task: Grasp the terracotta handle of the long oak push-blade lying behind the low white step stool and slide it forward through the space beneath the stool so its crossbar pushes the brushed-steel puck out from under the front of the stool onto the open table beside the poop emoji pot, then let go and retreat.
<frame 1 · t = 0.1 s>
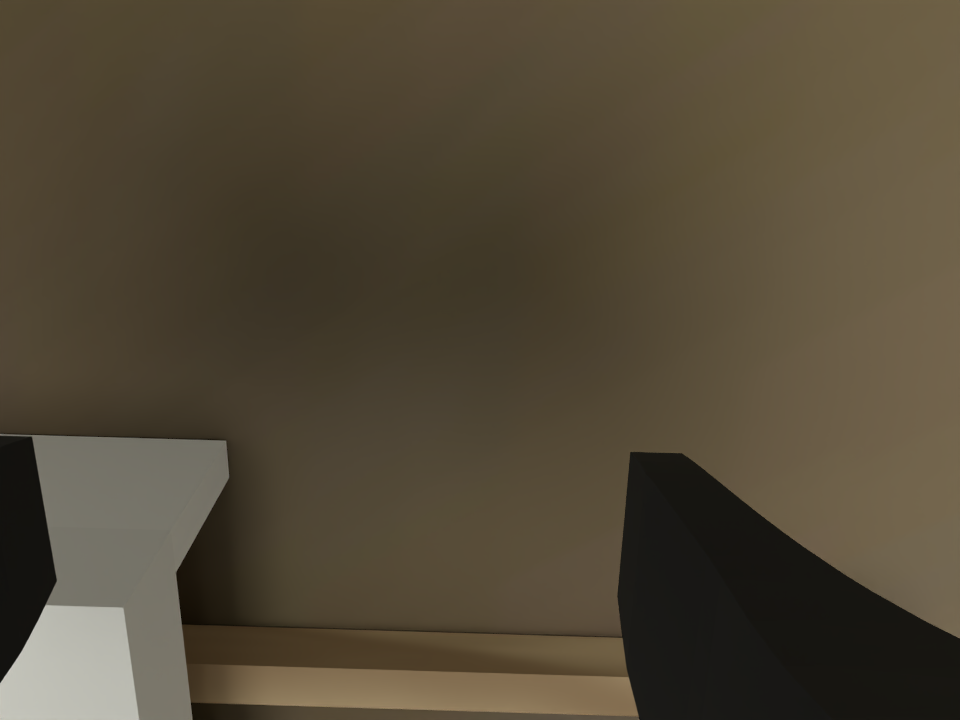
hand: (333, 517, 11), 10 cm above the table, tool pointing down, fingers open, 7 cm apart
push blade: (795, 661, 24), on the table
white step stool: (92, 641, 24), on the table
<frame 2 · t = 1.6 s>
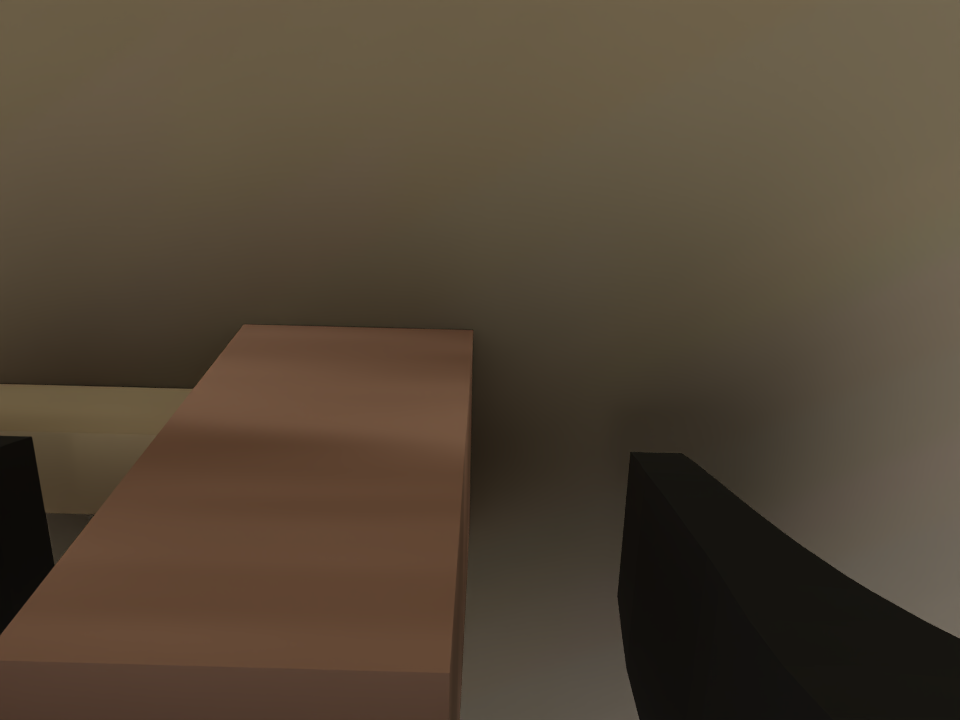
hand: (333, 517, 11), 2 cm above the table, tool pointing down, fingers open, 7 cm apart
push blade: (361, 431, 13), on the table
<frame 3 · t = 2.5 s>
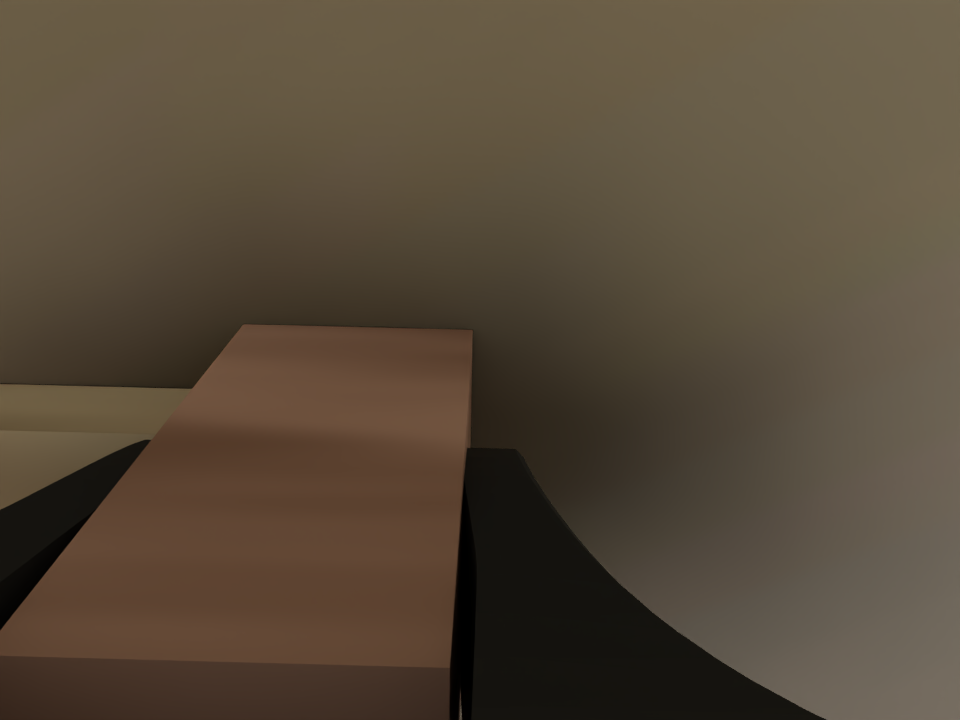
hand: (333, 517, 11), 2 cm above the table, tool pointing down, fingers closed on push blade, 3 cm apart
push blade: (360, 430, 13), on the table, touching gripper
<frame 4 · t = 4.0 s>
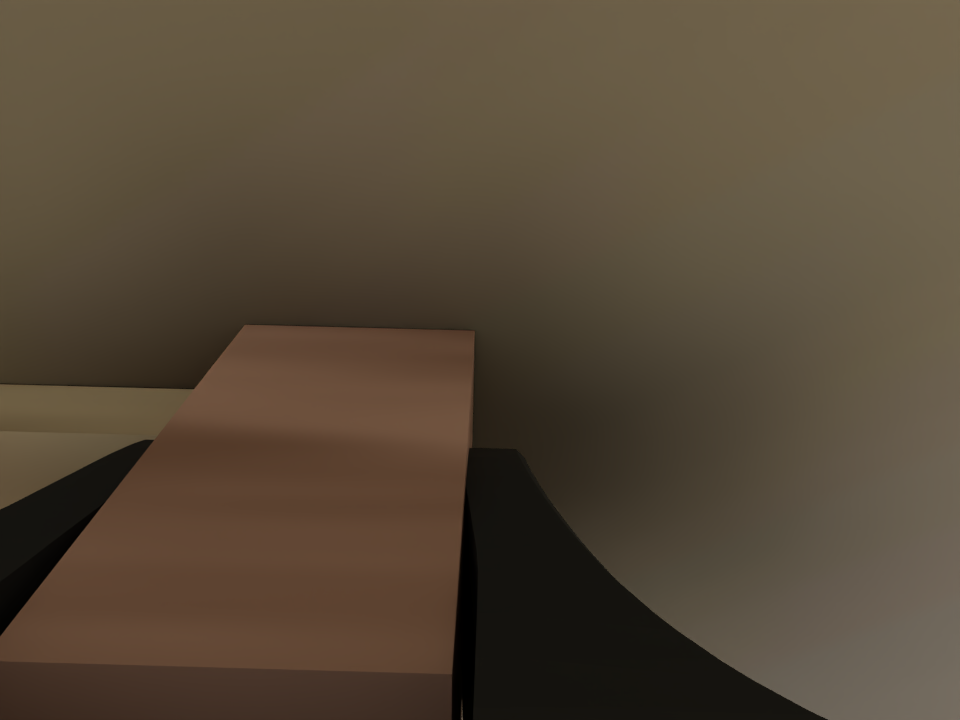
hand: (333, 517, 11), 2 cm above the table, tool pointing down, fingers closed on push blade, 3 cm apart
push blade: (362, 431, 13), on the table, touching gripper, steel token
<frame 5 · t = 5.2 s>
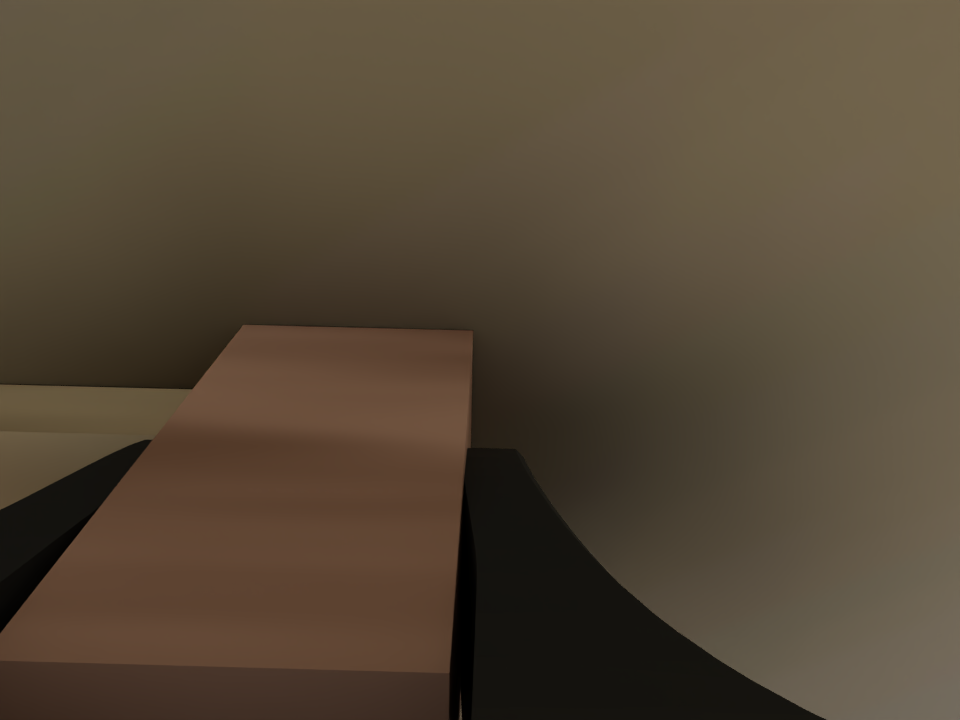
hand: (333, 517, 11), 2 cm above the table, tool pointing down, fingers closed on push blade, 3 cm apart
push blade: (361, 431, 13), on the table, touching gripper
when the fingers open (2 cm above the table, at t = 6.2 s): push blade stays where it is, on the table.
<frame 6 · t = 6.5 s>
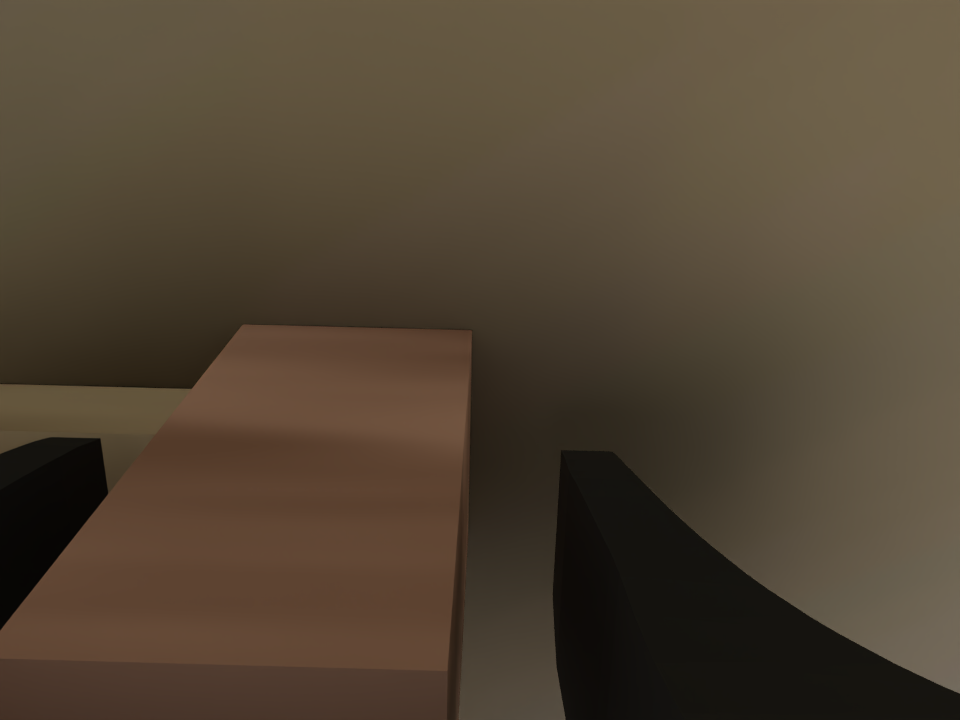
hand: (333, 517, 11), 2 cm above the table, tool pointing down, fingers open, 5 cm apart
push blade: (360, 431, 13), on the table
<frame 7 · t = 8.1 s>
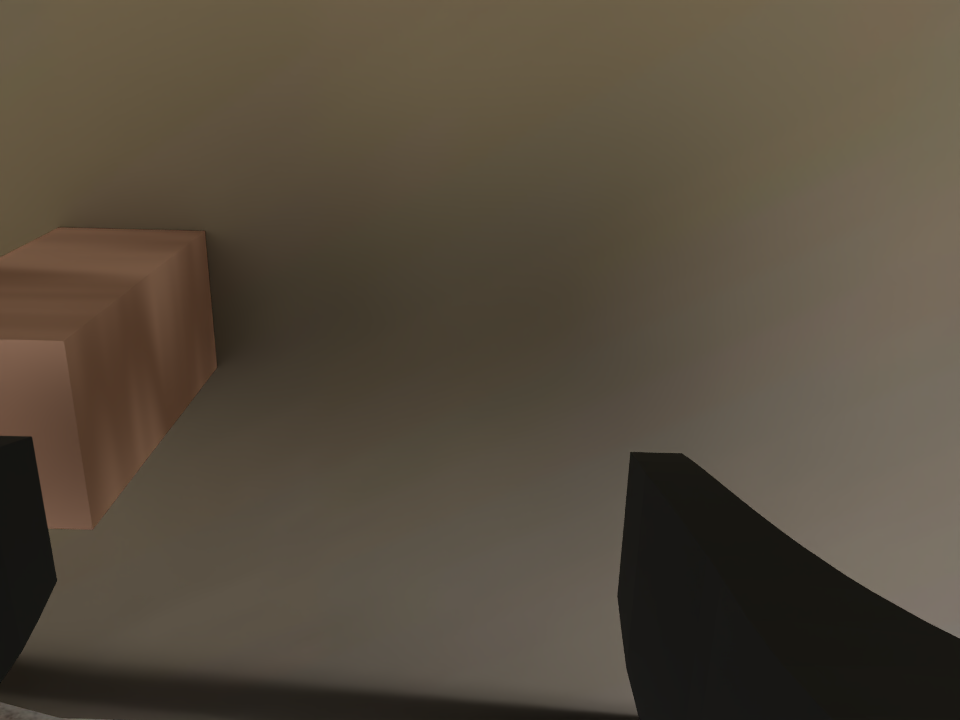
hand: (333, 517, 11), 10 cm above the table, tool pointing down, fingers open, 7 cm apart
push blade: (140, 299, 21), on the table
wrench: (279, 691, 25), on the table
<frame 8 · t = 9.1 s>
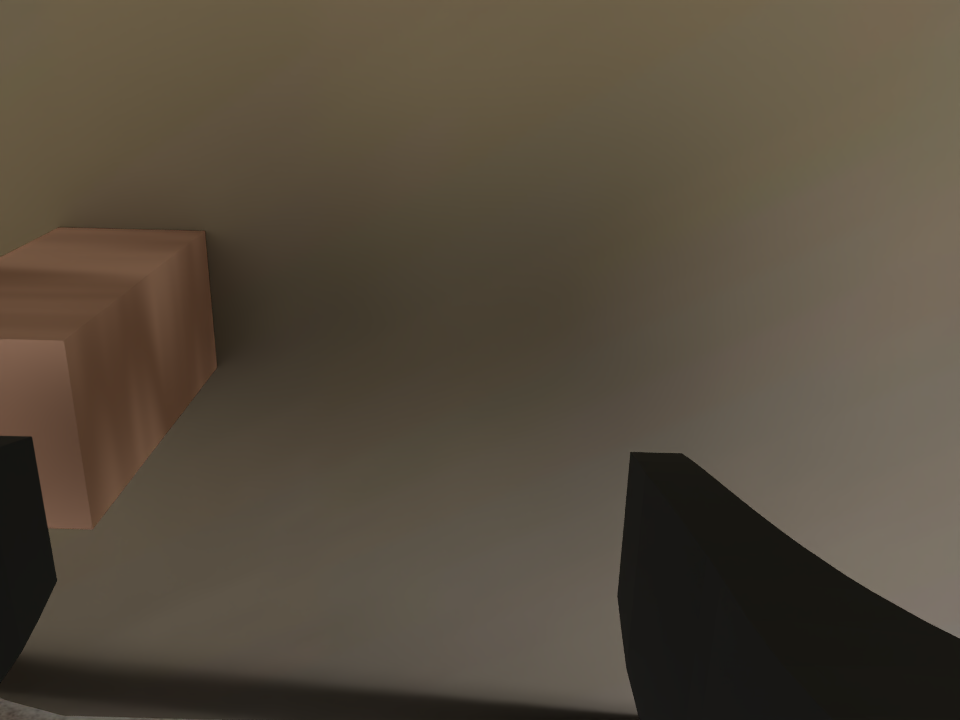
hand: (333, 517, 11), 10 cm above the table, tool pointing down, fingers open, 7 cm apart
push blade: (140, 299, 21), on the table
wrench: (281, 689, 25), on the table
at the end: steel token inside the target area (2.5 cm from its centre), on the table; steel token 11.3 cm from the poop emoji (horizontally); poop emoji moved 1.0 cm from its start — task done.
